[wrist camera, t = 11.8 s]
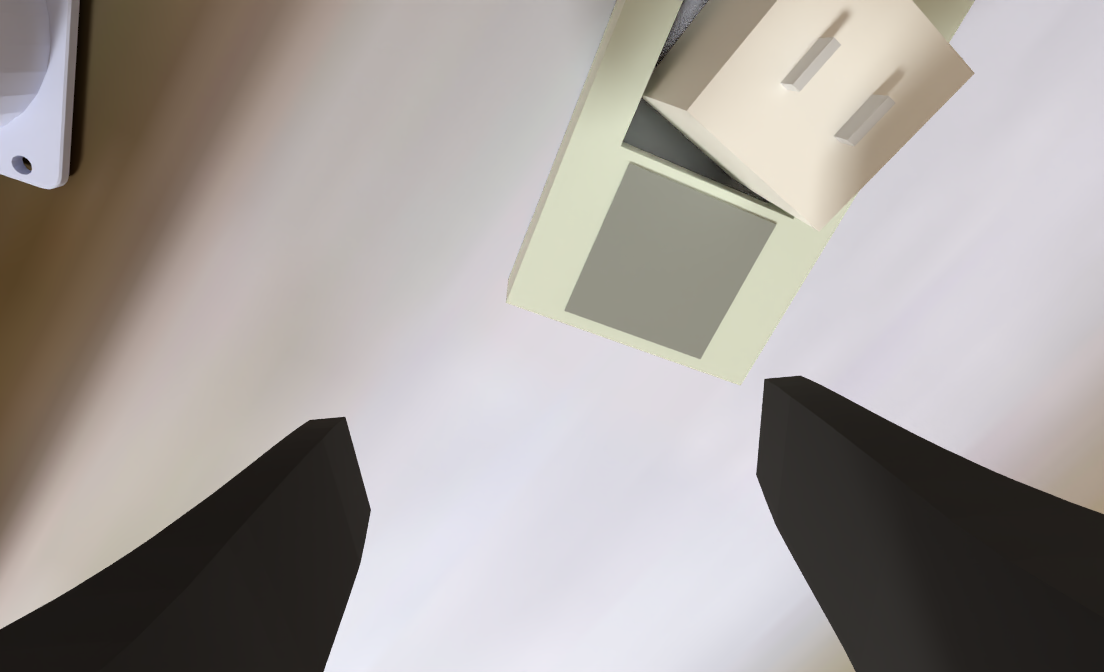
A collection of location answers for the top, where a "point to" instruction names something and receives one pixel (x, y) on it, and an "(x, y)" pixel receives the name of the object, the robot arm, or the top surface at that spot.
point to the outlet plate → (662, 224)
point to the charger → (805, 93)
